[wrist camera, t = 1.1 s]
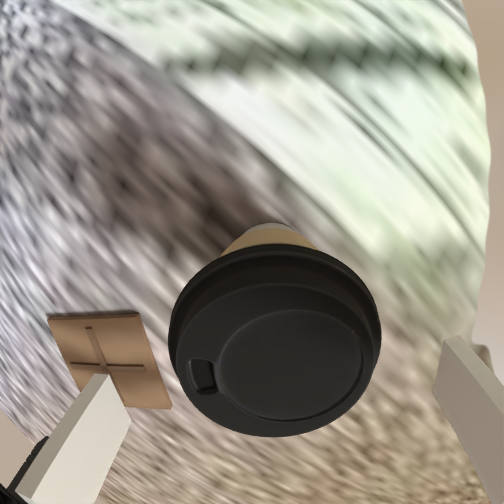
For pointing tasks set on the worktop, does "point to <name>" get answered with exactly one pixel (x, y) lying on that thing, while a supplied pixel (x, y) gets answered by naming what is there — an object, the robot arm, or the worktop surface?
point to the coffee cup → (274, 335)
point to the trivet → (112, 356)
